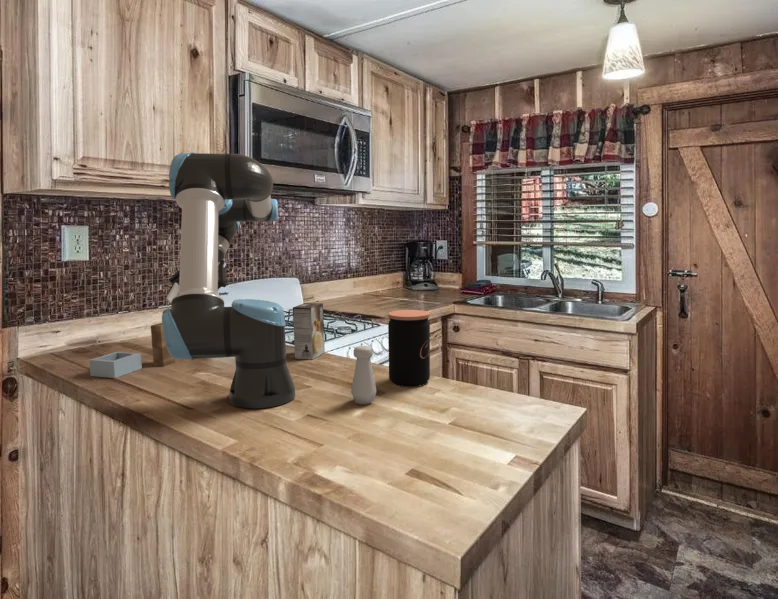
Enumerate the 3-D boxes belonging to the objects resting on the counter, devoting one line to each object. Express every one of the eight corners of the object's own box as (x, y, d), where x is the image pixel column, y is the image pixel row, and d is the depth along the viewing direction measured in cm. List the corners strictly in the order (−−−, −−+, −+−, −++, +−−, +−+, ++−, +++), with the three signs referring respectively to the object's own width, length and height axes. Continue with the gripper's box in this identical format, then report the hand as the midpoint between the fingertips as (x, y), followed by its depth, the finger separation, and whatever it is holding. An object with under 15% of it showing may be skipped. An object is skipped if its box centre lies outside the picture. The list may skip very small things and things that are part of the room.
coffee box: (306, 351, 170) (305, 302, 168) (325, 352, 169) (323, 303, 166) (294, 358, 162) (292, 306, 159) (313, 360, 160) (311, 307, 158)
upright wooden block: (175, 362, 159) (172, 323, 158) (163, 366, 155) (160, 326, 153) (165, 361, 160) (162, 322, 159) (153, 365, 156) (150, 325, 154)
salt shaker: (367, 407, 118) (366, 350, 116) (346, 403, 121) (345, 347, 119) (381, 400, 123) (380, 345, 121) (361, 396, 126) (359, 342, 124)
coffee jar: (427, 388, 131) (427, 317, 128) (385, 386, 133) (384, 316, 130) (432, 376, 141) (432, 310, 139) (393, 374, 143) (392, 309, 141)
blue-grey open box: (141, 368, 153) (140, 353, 152) (114, 378, 143) (113, 362, 143) (118, 366, 155) (117, 351, 154) (90, 375, 146) (89, 360, 145)
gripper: (251, 259, 176) (227, 310, 164) (188, 257, 184) (161, 307, 172) (241, 243, 170) (215, 296, 159) (176, 243, 178) (147, 293, 166)
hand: (187, 302), depth 165 cm, fingers open, 13 cm apart
